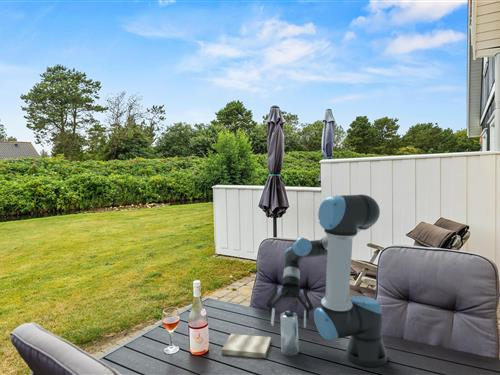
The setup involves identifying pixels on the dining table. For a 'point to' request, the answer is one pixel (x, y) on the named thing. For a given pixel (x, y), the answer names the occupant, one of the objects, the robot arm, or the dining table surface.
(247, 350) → the birch board
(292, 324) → the steel bottle
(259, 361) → the dining table surface
